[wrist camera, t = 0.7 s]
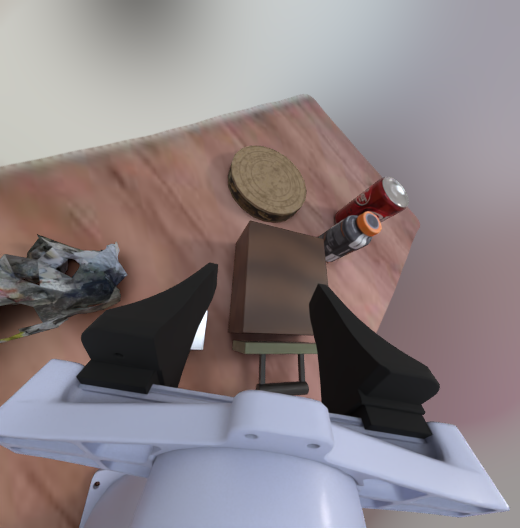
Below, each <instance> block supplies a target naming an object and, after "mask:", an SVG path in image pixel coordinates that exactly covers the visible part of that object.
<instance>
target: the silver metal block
mask: <svg viewBox="0 0 520 528" xmlns="http://www.w3.org/2000/svg"><path fill="white" fill-rule="evenodd" d="M207 315H208V311H206V313H205V315H204V317H203V319H202V321H201V323H200V325H199V328H198V330H197V332H196V335H195V338H194V340H193V343H192V346H191V349H190V350H203V346H204V339H205V331H206V323H207Z"/></svg>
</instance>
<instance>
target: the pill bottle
mask: <svg viewBox="0 0 520 528" xmlns="http://www.w3.org/2000/svg"><path fill="white" fill-rule="evenodd" d="M380 231H381V223H380V220H379V219H378V217H377V216H376V215H375V214H373V213H372V212H369V211H367V212H364V213H363V214H361V215H359V216H357V215H351V216H348V217H347V218H345V219H344V220H342V221H341V222H339V223H337V224H336V225H335V226H333V227H332V228H330V229H329V230H328V231H326V232H325V233H323V234H322V235H320V236H319V237H318V238H321V239H323V240H324V250H325V259H326V261H327V262H332V261H334V260H336V259H339V258H341V257H343V256H345V255H347V254H349V253H351V252H353V251H355V250H358V249H360V248H362V247H364V246H366V245H368V244H369V243H370V241H371V239H372V236H374V235H376V234H378V233H379V232H380Z"/></svg>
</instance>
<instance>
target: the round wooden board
mask: <svg viewBox="0 0 520 528" xmlns="http://www.w3.org/2000/svg"><path fill="white" fill-rule="evenodd" d="M228 187H229V189H230V191H231V194H232V196H233V198H234V199H235V201H236V202H237V203H238V204H239V206H240V207H241V208H242V209H243V210H245V211H246V212H247V213H249V214H250V215H251V216H253V217H255V218H258V219H260V220H263V221H267V222H275V223H276V222H281V221H286V220H287V219H289V218H290V217H292V216H293V215H294V214H295V213H296V212H297V211H298V210H299V209H300V208H301V206H302V205H303V203H304V201H305V198H306V187H305V182H304V180H303V178H302V176H301V174H300V172H299V170H298V169H297V168H296V167H295V165H294V164H293V163H292V162H291V161H290V160H289V159H287V158H286V157H285V156H284V155H282V154H280V153H279V152H277V151H275V150H273V149H270V148H267V147H263V146H248V147H245V148H242V149H241V150H240V151H238V152H237V153H236V154H235V156H234V158H233V161H232V164H231V167H230V170H229V174H228Z"/></svg>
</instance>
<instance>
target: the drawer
mask: <svg viewBox="0 0 520 528" xmlns="http://www.w3.org/2000/svg"><path fill="white" fill-rule="evenodd" d="M232 349H233V350H235V351H238V352H241V353H244V354H260V357H259V384H257V385H256V390H262V391H268V392H274V393H280V394H286V395H292V396H294V395H305V394H308V392H309V387H308V384H307V382H305V369H304V354H318V353H317V347H316V343H309V342H286V341H242V340H233V348H232ZM266 354H298V371H299V381H297V382H281V383H265V361H266Z"/></svg>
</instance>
